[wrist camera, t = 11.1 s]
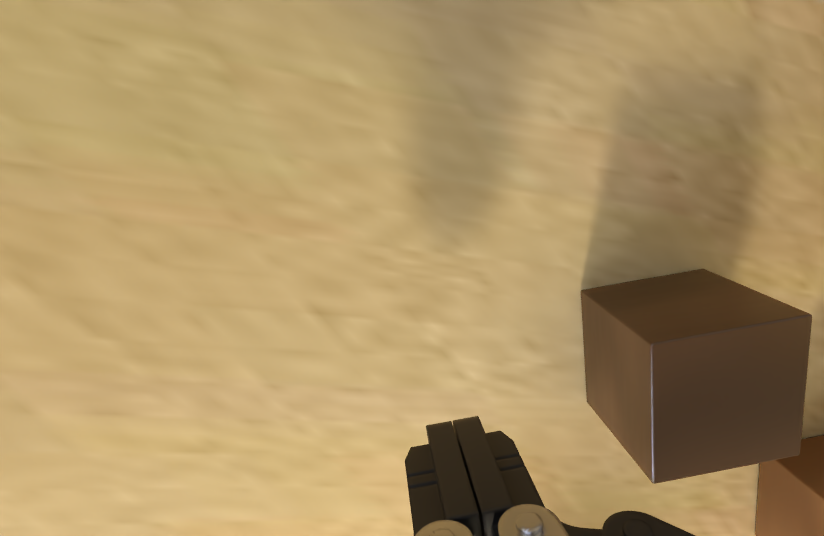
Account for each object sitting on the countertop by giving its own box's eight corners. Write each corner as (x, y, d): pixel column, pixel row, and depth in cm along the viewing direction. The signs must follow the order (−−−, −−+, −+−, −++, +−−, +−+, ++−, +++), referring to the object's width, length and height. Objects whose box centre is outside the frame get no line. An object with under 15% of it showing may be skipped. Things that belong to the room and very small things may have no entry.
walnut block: (580, 289, 17) (651, 344, 13) (703, 268, 18) (813, 314, 13) (586, 402, 19) (653, 485, 14) (701, 380, 19) (801, 455, 15)
